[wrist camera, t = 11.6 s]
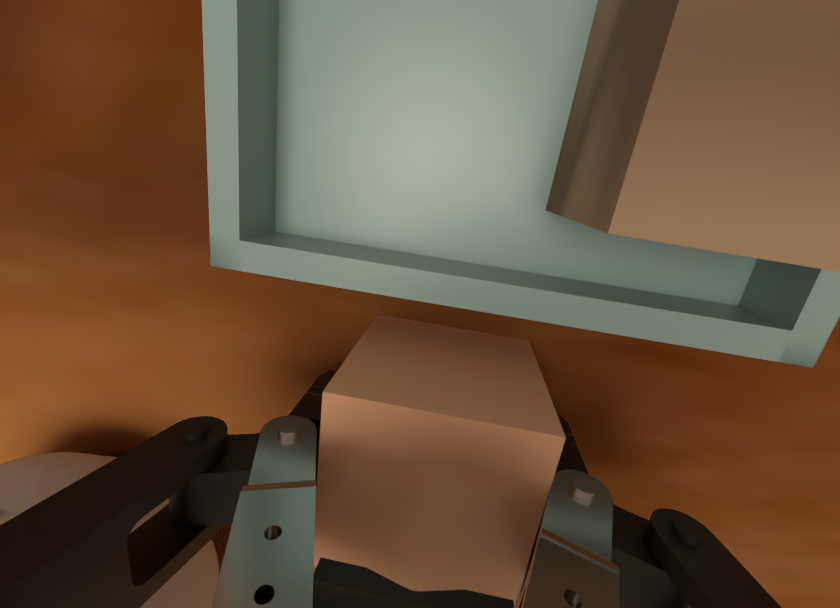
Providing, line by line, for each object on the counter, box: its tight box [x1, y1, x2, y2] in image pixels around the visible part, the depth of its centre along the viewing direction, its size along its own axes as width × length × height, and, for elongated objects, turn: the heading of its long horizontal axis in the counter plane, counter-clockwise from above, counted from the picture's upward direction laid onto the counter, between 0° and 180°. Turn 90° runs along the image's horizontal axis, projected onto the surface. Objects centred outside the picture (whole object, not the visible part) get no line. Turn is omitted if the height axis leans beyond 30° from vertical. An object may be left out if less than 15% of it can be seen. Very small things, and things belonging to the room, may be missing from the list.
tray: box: [202, 0, 840, 368], centre depth 9 cm, size 10×15×2 cm, turn 81°
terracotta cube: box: [314, 314, 566, 606], centre depth 11 cm, size 5×5×5 cm
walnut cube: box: [545, 0, 840, 272], centre depth 7 cm, size 5×5×5 cm
